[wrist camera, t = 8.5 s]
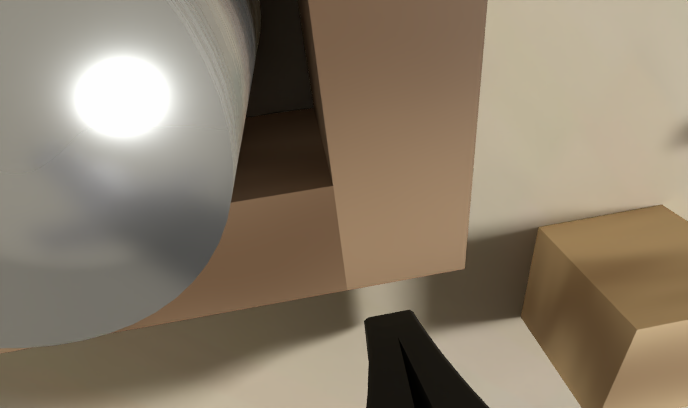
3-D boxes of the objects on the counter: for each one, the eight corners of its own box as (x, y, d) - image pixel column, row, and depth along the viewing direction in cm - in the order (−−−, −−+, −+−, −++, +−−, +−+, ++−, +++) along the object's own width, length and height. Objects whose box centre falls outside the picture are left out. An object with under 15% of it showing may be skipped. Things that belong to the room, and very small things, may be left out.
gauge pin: (270, 88, 9) (265, 316, 3) (116, 99, 8) (-179, 375, 3) (246, -95, 7) (151, -257, 2) (51, -91, 7) (-968, -281, 1)
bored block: (409, 176, 10) (464, 269, 7) (50, 235, 10) (-49, 362, 7) (400, -394, 5) (557, -812, 2) (-320, -349, 5) (-1279, -832, 2)
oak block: (624, 294, 15) (728, 397, 11) (519, 315, 14) (594, 426, 11) (660, 203, 12) (802, 296, 9) (537, 225, 12) (637, 329, 9)
